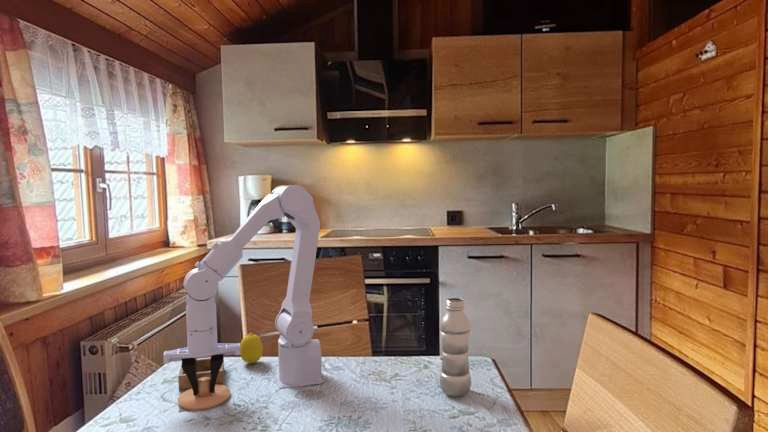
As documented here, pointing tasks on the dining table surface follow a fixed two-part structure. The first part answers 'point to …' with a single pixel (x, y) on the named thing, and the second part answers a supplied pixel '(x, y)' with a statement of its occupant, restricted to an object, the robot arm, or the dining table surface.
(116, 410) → the dining table surface
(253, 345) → the lemon
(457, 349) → the plastic bottle
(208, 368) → the wooden open tray
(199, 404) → the lid
